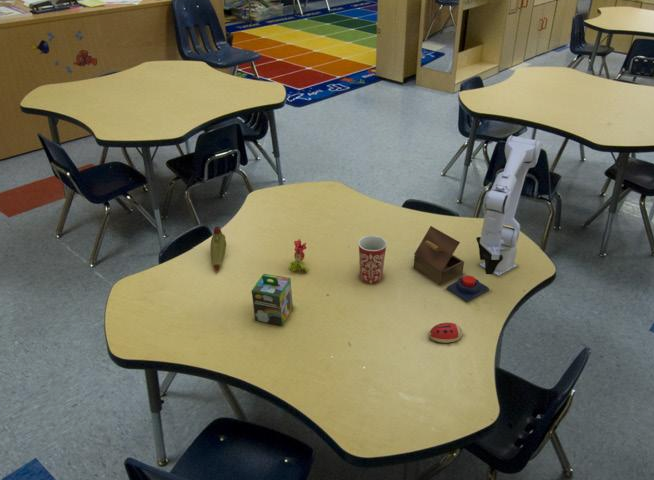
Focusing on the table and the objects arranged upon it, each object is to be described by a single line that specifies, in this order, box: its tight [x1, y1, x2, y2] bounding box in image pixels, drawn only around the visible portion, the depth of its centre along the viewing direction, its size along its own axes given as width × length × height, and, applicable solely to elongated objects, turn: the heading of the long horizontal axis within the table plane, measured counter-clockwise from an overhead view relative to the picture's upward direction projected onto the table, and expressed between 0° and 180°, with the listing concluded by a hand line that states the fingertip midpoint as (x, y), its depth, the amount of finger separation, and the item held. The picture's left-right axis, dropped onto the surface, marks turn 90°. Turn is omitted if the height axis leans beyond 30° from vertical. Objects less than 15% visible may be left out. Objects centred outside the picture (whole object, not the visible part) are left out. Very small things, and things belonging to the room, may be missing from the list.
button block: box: [446, 276, 490, 303], centre depth 184 cm, size 10×8×3 cm
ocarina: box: [209, 226, 227, 272], centre depth 201 cm, size 20×5×10 cm, turn 4°
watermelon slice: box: [428, 322, 463, 344], centre depth 166 cm, size 7×10×4 cm
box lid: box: [413, 225, 461, 272], centre depth 187 cm, size 11×12×4 cm
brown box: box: [412, 254, 465, 286], centre depth 193 cm, size 10×12×5 cm
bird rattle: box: [288, 238, 308, 273], centre depth 195 cm, size 6×11×9 cm
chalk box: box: [251, 273, 294, 327], centre depth 173 cm, size 9×9×15 cm
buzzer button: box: [462, 275, 477, 287], centre depth 183 cm, size 4×4×2 cm
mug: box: [357, 235, 388, 285], centre depth 190 cm, size 13×9×14 cm
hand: (486, 266), depth 180 cm, fingers open, 7 cm apart
